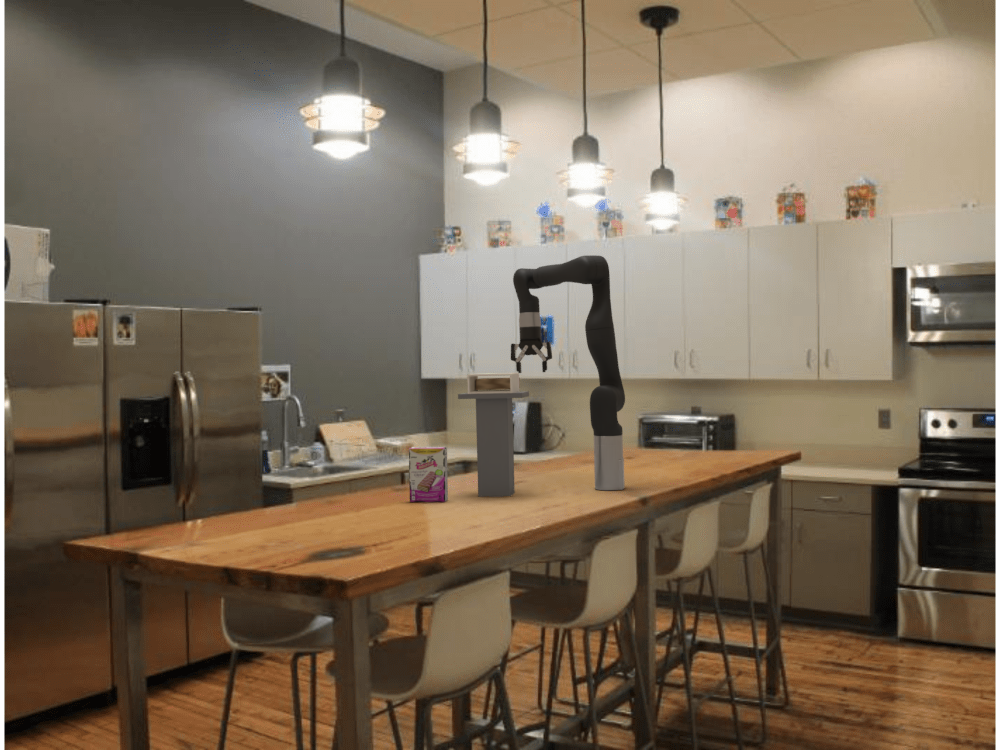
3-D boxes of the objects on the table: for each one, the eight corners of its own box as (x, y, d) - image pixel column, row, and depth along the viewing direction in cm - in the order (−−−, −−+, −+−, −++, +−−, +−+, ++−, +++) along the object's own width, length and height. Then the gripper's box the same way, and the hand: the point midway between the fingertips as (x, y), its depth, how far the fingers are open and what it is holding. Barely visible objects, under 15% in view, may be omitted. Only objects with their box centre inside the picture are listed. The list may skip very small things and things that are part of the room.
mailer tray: (525, 387, 330) (525, 376, 330) (513, 389, 308) (513, 378, 308) (490, 387, 332) (490, 377, 332) (476, 390, 311) (475, 379, 311)
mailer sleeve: (519, 391, 313) (518, 372, 312) (512, 393, 301) (511, 373, 301) (476, 392, 315) (475, 373, 315) (467, 393, 304) (467, 374, 303)
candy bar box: (409, 502, 296) (407, 448, 296) (412, 500, 301) (411, 446, 301) (446, 502, 295) (444, 447, 295) (448, 499, 300) (447, 446, 300)
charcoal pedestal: (531, 492, 313) (529, 391, 312) (524, 497, 300) (521, 392, 300) (470, 491, 317) (467, 392, 316) (460, 497, 304) (457, 394, 304)
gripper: (507, 326, 340) (509, 373, 340) (548, 324, 337) (550, 371, 337) (512, 327, 347) (514, 373, 347) (552, 325, 344) (553, 371, 344)
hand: (532, 372), depth 342 cm, fingers open, 8 cm apart
